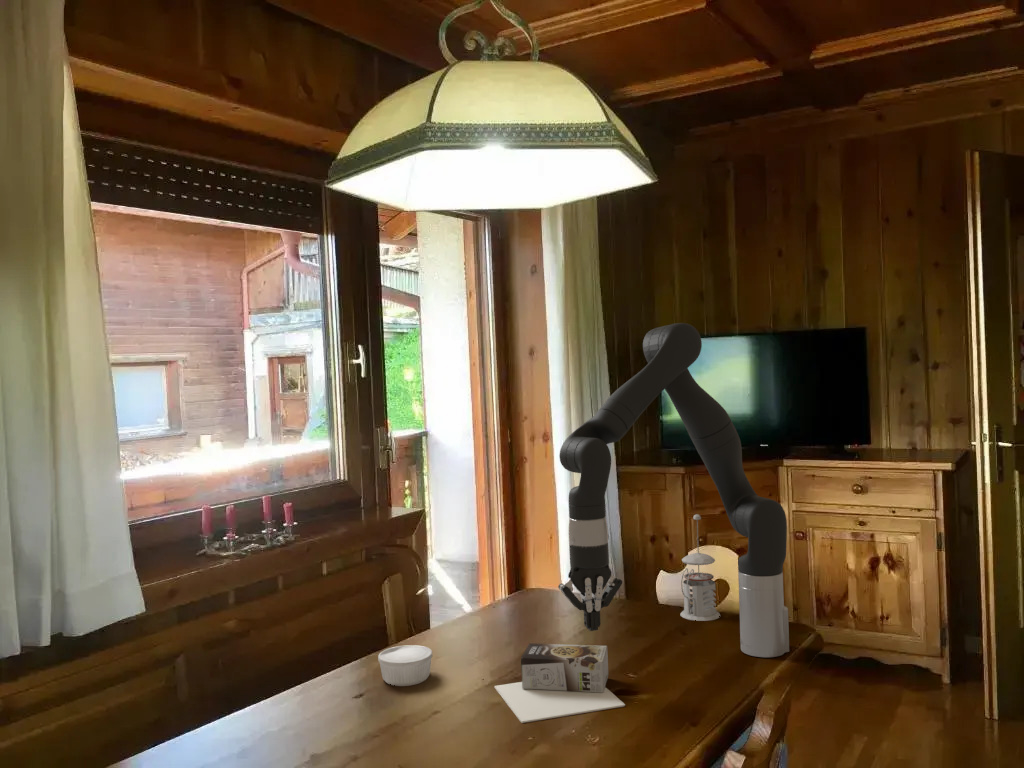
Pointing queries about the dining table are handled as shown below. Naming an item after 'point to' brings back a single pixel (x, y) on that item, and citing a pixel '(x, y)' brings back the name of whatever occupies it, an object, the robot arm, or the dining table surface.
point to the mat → (553, 702)
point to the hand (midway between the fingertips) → (592, 629)
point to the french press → (699, 588)
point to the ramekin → (405, 664)
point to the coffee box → (565, 667)
